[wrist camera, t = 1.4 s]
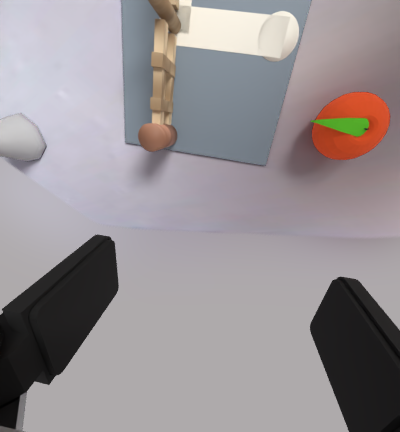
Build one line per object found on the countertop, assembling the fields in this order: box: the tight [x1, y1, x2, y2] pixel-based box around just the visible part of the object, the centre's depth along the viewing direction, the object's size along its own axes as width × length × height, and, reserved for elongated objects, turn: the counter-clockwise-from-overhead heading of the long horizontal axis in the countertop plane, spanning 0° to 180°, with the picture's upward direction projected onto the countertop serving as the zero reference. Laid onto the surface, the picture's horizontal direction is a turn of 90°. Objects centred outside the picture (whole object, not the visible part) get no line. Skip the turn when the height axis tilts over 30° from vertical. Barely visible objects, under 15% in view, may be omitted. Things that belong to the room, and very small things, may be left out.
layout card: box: [121, 0, 312, 166], centre depth 23 cm, size 28×21×1 cm
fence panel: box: [138, 19, 177, 152], centre depth 23 cm, size 12×3×6 cm, turn 172°
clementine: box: [311, 92, 390, 160], centre depth 22 cm, size 8×7×7 cm
